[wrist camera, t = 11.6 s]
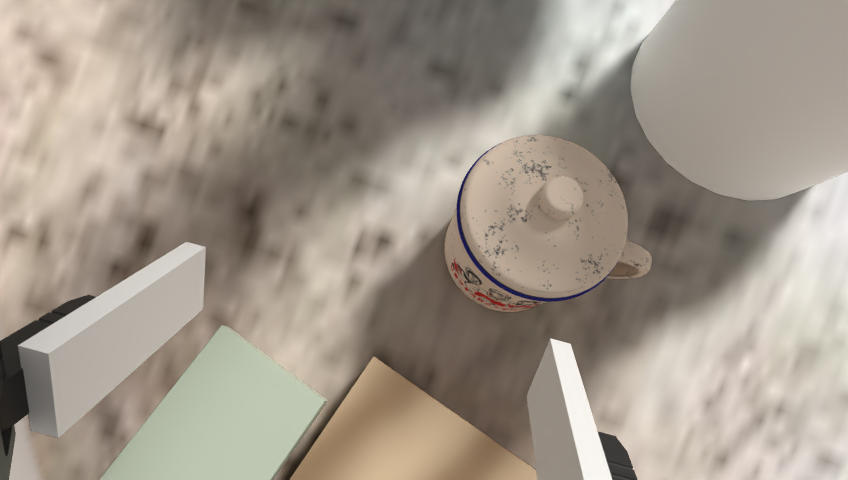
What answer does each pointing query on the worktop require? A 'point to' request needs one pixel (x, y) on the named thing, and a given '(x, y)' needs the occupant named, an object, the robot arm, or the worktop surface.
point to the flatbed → (403, 438)
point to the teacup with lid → (539, 226)
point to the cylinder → (747, 93)
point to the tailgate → (222, 419)
